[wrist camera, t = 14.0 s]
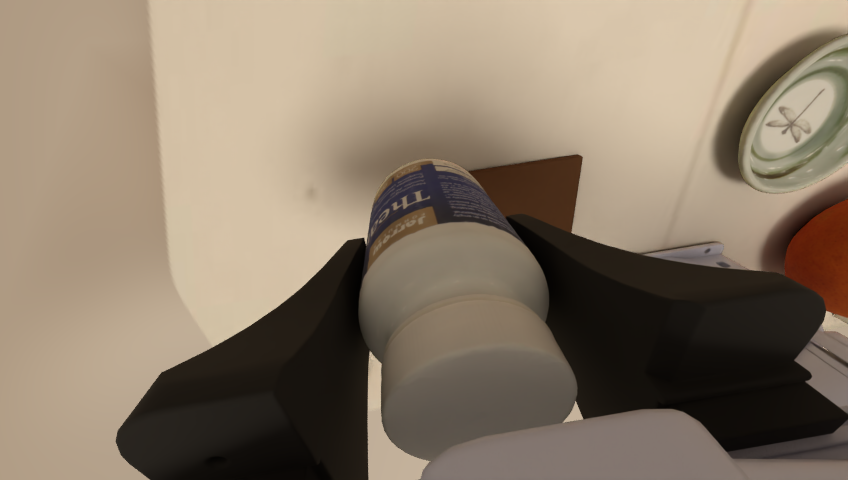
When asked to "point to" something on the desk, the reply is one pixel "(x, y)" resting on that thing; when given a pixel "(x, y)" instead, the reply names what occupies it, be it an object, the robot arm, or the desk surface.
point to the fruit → (823, 257)
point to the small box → (842, 318)
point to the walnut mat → (535, 189)
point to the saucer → (799, 124)
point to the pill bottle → (456, 315)
